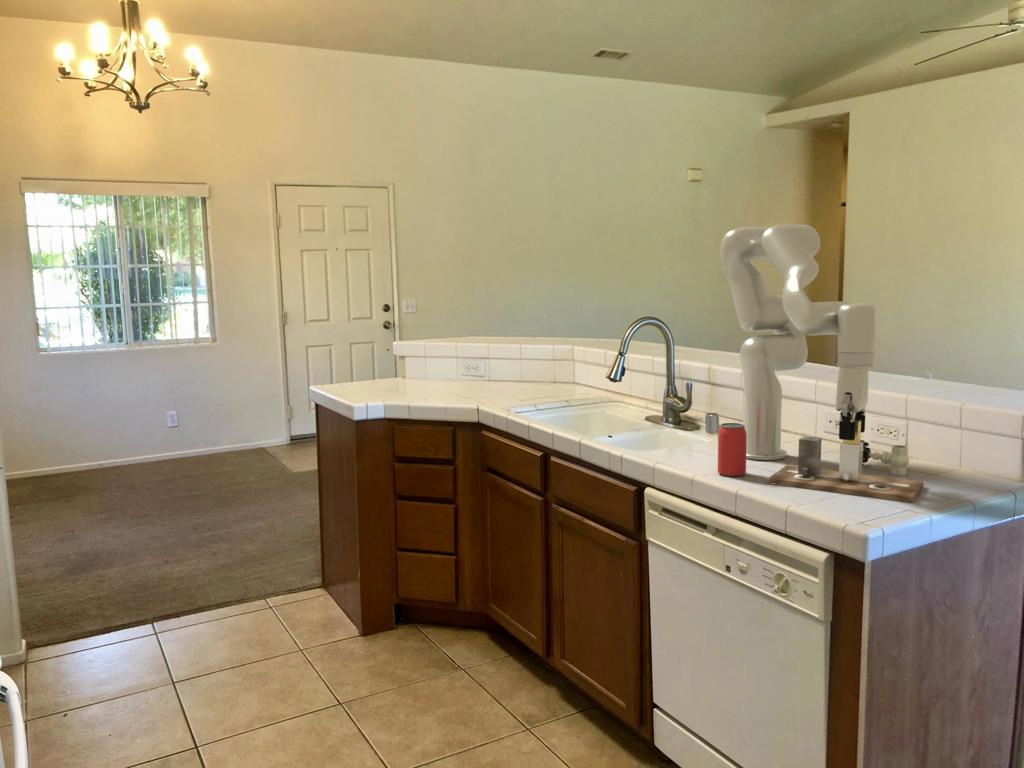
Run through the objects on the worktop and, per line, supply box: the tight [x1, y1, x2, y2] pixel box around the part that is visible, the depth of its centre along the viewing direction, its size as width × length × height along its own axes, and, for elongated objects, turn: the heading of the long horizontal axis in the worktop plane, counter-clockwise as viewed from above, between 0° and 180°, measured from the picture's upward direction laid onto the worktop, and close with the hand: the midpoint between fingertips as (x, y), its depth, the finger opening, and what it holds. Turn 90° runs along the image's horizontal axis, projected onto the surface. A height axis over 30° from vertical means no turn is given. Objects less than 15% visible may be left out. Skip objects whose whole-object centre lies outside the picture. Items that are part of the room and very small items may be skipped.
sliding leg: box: [838, 420, 863, 481], centre depth 177 cm, size 4×6×13 cm, turn 145°
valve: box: [860, 439, 910, 476], centre depth 190 cm, size 7×7×12 cm
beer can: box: [717, 422, 747, 477], centre depth 190 cm, size 7×7×12 cm
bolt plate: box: [767, 435, 925, 504], centre depth 178 cm, size 30×14×10 cm, turn 55°
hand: (852, 435), depth 177 cm, fingers open, 9 cm apart
